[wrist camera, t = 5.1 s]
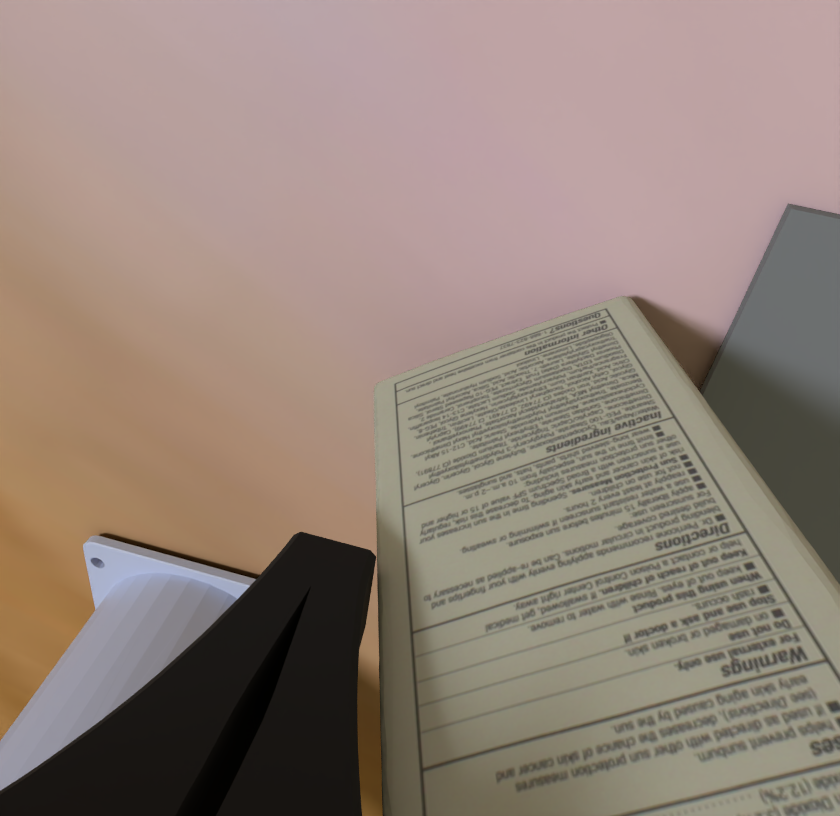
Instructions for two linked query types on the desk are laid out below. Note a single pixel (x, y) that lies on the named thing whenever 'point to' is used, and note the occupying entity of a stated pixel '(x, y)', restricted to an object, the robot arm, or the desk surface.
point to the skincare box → (592, 592)
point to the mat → (790, 375)
